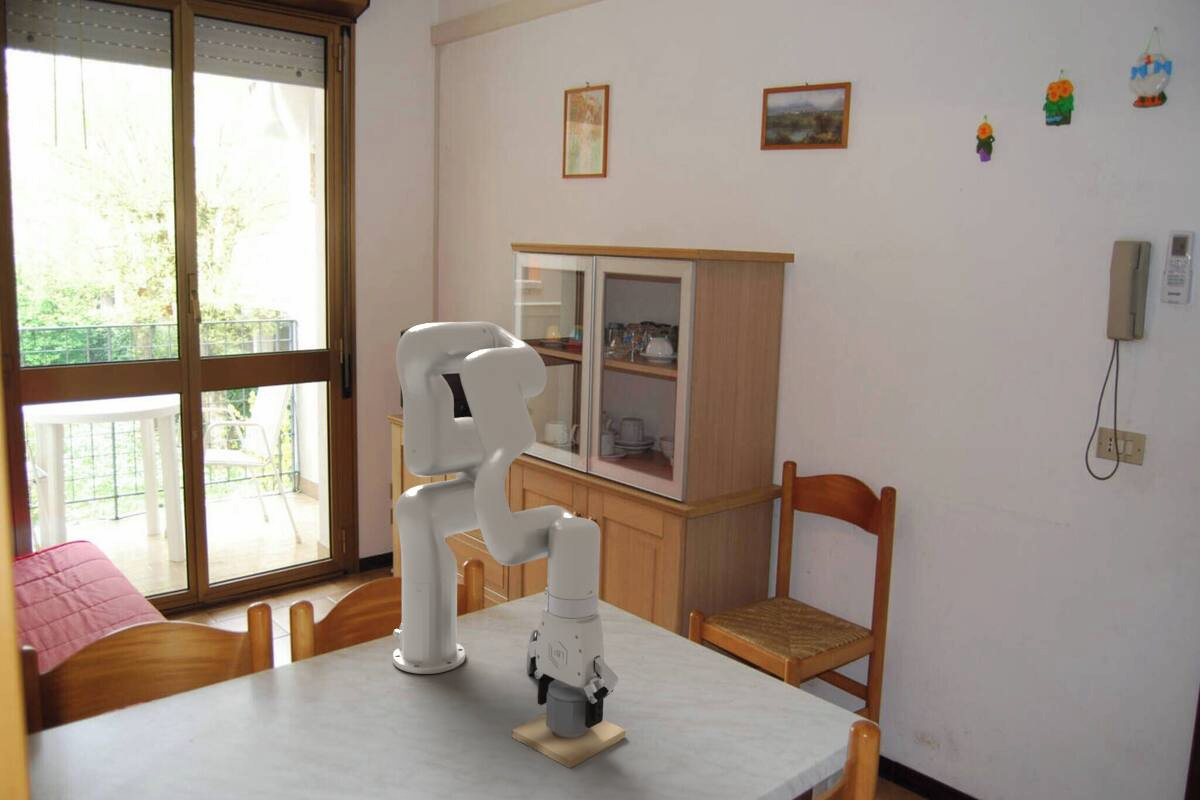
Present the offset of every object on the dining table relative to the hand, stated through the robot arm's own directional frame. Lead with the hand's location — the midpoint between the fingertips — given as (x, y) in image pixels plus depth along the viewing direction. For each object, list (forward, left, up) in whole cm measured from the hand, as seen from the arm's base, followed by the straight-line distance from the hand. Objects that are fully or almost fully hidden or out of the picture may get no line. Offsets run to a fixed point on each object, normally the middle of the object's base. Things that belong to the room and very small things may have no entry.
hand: (569, 712), depth 137 cm
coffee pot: (-14, +11, -4) cm, 18 cm away
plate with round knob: (0, 0, -4) cm, 4 cm away
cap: (0, 0, -2) cm, 2 cm away
